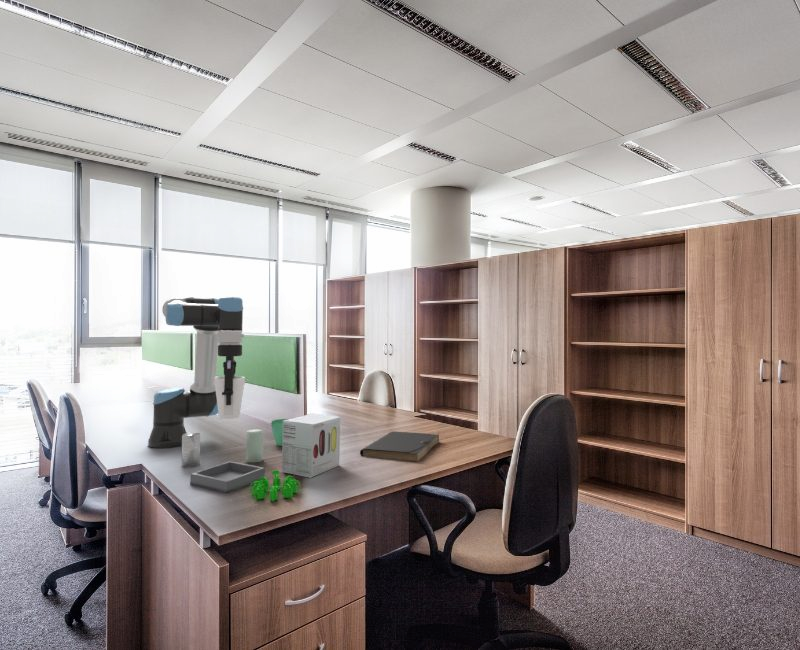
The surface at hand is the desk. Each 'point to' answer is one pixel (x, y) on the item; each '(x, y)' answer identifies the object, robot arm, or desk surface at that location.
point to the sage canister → (254, 446)
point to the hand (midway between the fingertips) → (229, 412)
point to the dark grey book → (401, 446)
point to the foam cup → (237, 395)
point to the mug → (278, 430)
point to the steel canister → (190, 450)
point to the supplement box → (310, 444)
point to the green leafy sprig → (274, 487)
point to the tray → (227, 476)
